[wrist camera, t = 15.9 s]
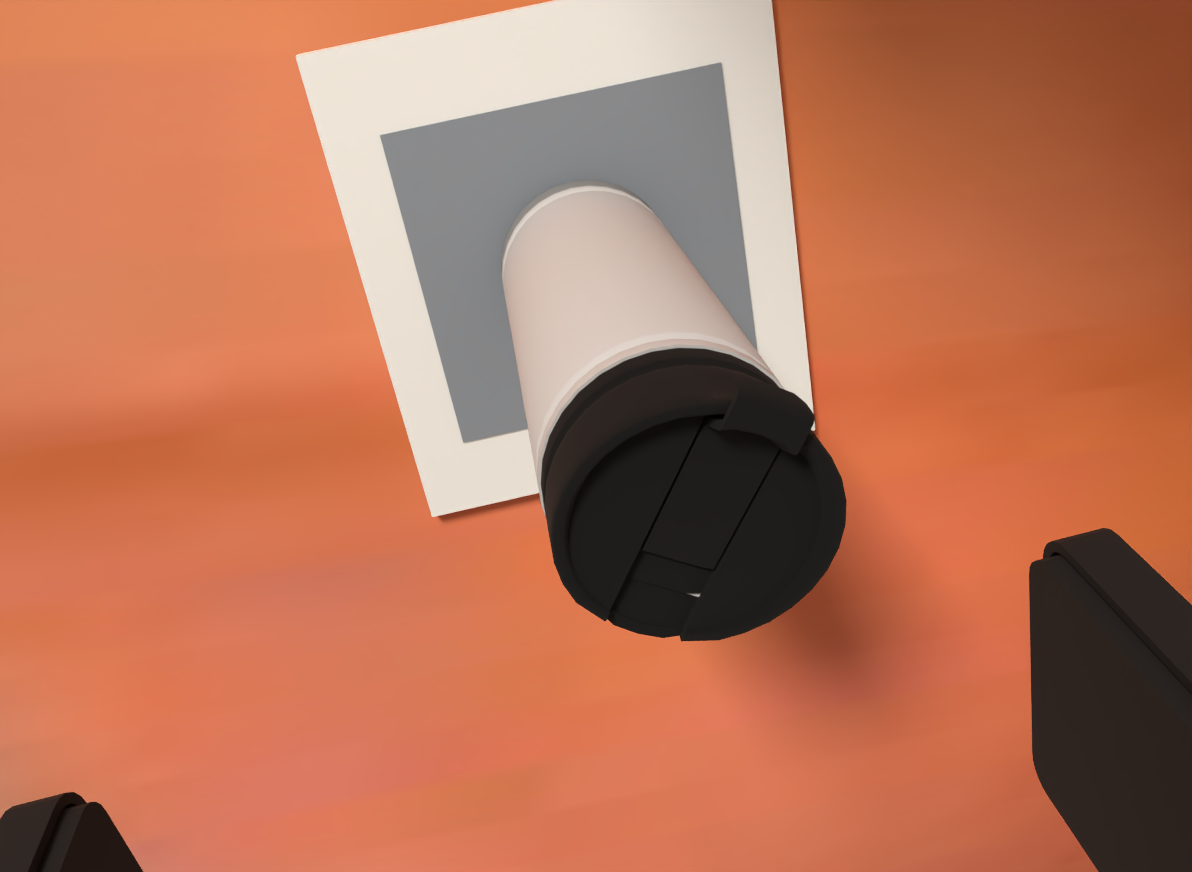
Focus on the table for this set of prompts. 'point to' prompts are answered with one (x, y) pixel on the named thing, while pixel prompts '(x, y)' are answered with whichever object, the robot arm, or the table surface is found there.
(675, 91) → the card
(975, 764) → the table surface
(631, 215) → the travel mug
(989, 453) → the table surface
